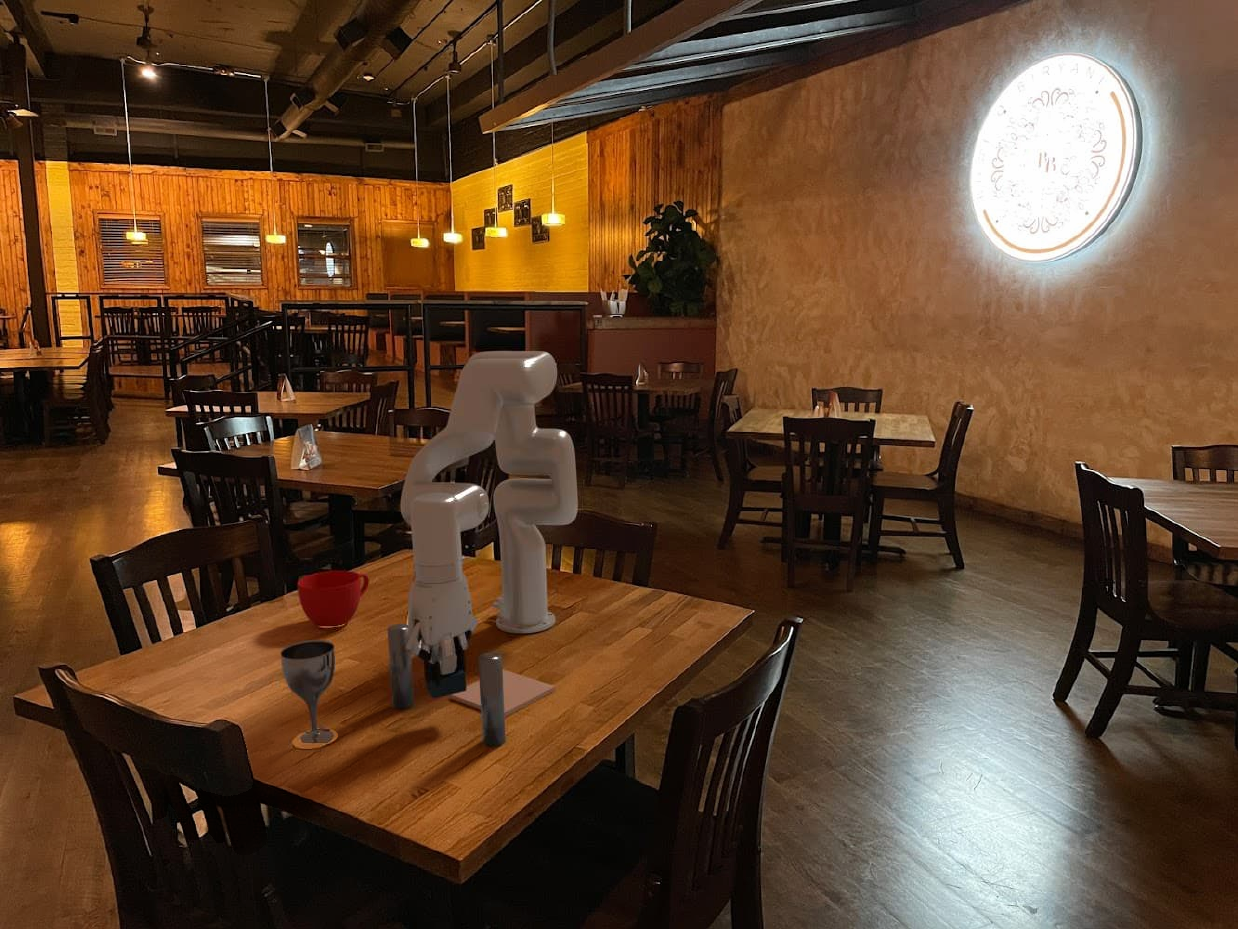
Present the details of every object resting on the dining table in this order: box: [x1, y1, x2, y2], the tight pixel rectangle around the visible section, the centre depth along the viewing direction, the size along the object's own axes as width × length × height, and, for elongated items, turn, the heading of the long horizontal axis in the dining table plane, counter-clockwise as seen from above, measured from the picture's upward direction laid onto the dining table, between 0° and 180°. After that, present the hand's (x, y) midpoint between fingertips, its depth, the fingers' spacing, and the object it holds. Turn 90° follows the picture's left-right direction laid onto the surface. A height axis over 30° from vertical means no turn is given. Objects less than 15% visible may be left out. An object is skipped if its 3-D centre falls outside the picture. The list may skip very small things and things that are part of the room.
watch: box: [420, 632, 467, 700], centre depth 145 cm, size 6×8×11 cm
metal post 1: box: [386, 623, 415, 711], centre depth 151 cm, size 4×4×14 cm
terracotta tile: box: [449, 669, 556, 718], centre depth 156 cm, size 13×13×1 cm
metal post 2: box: [478, 652, 507, 748], centre depth 138 cm, size 4×4×14 cm
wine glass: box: [280, 639, 336, 744], centre depth 140 cm, size 8×8×15 cm
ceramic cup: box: [297, 570, 370, 627], centre depth 194 cm, size 13×17×10 cm
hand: (445, 676), depth 145 cm, fingers closed on watch, 4 cm apart
